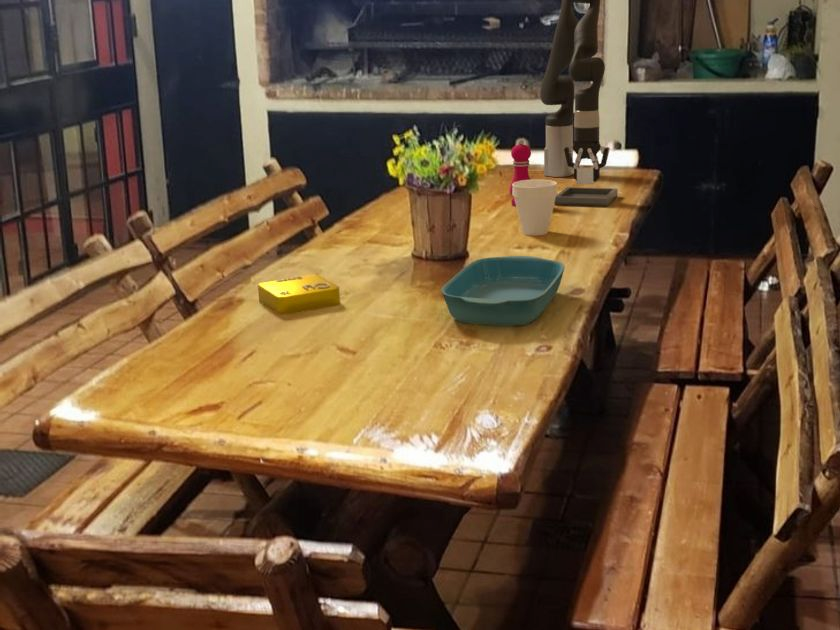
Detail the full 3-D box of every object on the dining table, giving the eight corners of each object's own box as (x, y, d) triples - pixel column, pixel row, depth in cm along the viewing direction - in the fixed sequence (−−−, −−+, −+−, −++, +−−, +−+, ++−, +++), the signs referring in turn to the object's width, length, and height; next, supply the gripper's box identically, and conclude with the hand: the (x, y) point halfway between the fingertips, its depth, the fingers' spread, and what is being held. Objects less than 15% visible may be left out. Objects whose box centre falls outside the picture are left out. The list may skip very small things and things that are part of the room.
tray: (554, 205, 352) (554, 196, 351) (567, 194, 366) (567, 187, 365) (606, 206, 346) (606, 198, 346) (617, 196, 361) (617, 188, 360)
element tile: (317, 291, 271) (316, 271, 269) (343, 306, 258) (342, 285, 256) (256, 301, 264) (254, 281, 263) (280, 317, 251) (278, 296, 250)
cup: (555, 238, 311) (555, 187, 307) (510, 237, 313) (509, 187, 309) (559, 227, 322) (559, 179, 318) (515, 227, 325) (514, 179, 321)
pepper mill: (505, 204, 356) (504, 139, 350) (526, 201, 359) (525, 136, 353) (517, 208, 350) (516, 141, 344) (538, 205, 353) (537, 139, 347)
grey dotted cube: (576, 184, 353) (576, 167, 352) (580, 181, 358) (580, 164, 356) (593, 184, 351) (593, 168, 350) (596, 181, 356) (596, 165, 354)
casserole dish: (536, 336, 231) (536, 302, 229) (430, 329, 238) (428, 296, 236) (573, 287, 264) (573, 257, 262) (479, 282, 271) (478, 253, 269)
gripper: (612, 123, 350) (612, 179, 355) (566, 123, 355) (566, 178, 360) (607, 127, 344) (607, 183, 349) (560, 126, 349) (560, 182, 354)
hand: (586, 180), depth 354 cm, fingers closed on grey dotted cube, 5 cm apart
